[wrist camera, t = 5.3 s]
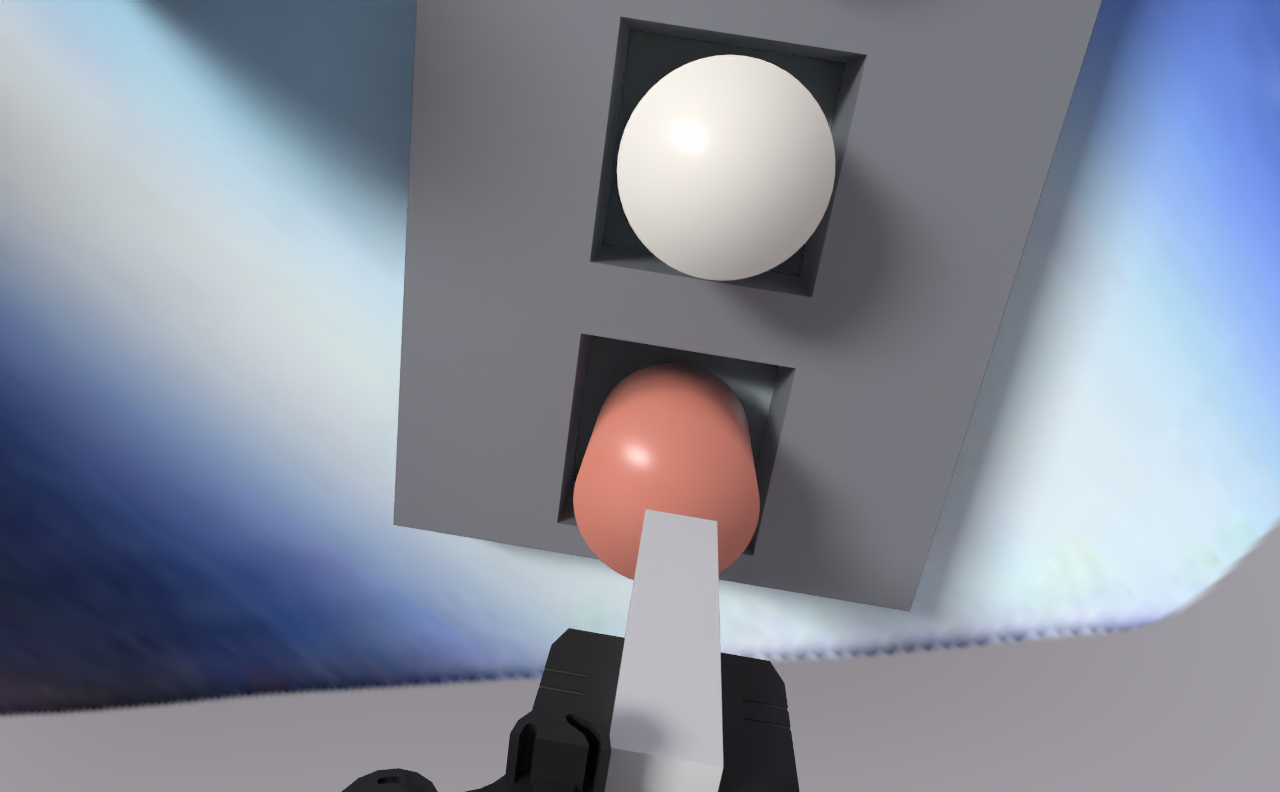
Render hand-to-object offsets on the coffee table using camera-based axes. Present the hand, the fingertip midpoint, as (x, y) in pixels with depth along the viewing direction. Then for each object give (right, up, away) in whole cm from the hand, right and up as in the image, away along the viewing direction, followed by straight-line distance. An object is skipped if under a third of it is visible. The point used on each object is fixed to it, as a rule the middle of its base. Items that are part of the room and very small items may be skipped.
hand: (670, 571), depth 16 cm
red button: (0, +2, +7) cm, 8 cm away
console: (+2, +11, +6) cm, 12 cm away
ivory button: (+1, +10, +4) cm, 11 cm away
